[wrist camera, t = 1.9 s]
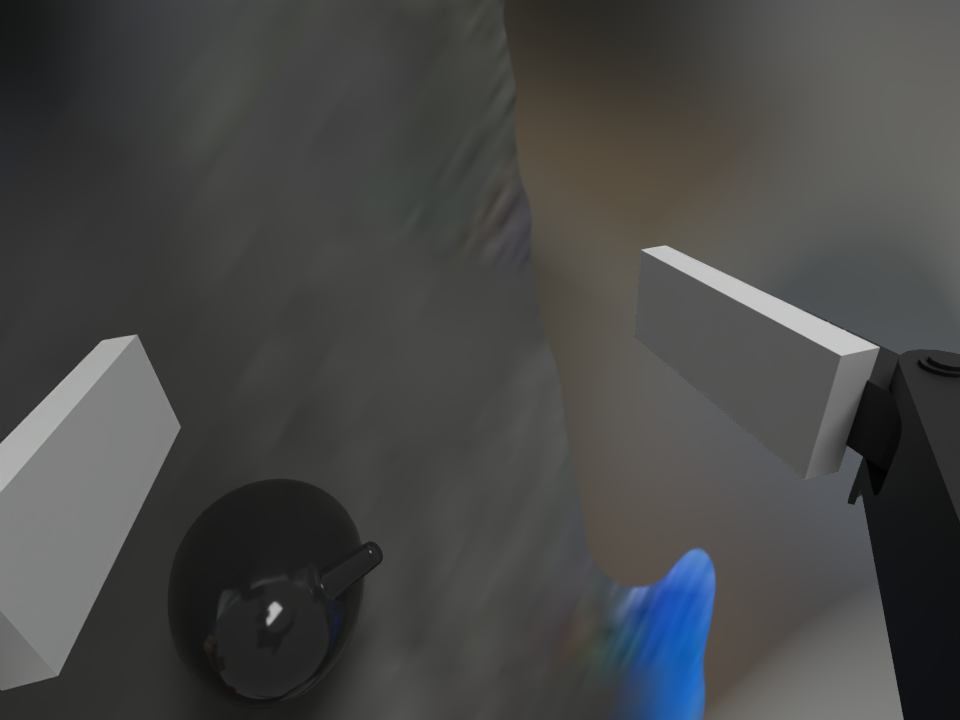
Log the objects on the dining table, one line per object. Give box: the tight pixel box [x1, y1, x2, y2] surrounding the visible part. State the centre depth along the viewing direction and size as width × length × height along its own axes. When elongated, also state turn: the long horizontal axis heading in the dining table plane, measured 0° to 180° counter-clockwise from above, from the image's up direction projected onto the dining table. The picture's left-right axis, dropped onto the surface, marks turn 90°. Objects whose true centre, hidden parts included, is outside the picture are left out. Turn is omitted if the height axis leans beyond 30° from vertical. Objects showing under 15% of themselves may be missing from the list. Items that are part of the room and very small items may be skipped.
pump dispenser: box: [168, 479, 383, 709], centre depth 26 cm, size 10×10×15 cm
